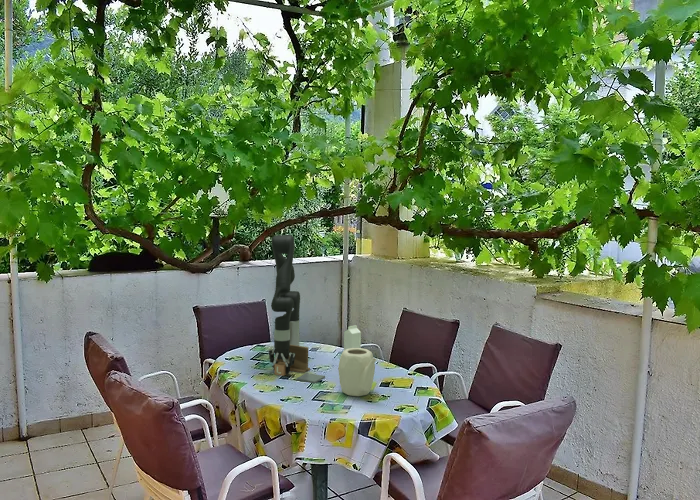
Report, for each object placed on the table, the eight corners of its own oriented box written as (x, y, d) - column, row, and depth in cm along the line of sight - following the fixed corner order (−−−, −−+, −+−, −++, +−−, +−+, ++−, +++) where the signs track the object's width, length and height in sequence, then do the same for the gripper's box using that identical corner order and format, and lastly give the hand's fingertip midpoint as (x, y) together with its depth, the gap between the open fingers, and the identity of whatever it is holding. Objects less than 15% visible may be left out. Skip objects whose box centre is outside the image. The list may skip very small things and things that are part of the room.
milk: (360, 369, 296) (361, 325, 294) (351, 371, 292) (352, 327, 290) (351, 366, 300) (353, 323, 298) (342, 368, 296) (344, 325, 294)
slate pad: (306, 374, 285) (306, 372, 285) (325, 377, 281) (325, 375, 281) (296, 380, 276) (296, 378, 276) (314, 383, 272) (314, 381, 272)
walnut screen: (279, 364, 300) (279, 341, 299) (310, 370, 293) (310, 346, 291) (272, 367, 295) (272, 344, 294) (304, 373, 287) (304, 348, 286)
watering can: (358, 406, 244) (359, 361, 243) (327, 387, 267) (328, 346, 265) (389, 400, 252) (391, 356, 251) (356, 382, 275) (357, 342, 273)
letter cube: (280, 371, 289) (280, 361, 288) (288, 373, 287) (289, 363, 286) (274, 374, 284) (274, 364, 284) (283, 376, 282) (283, 366, 282)
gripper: (299, 338, 284) (298, 372, 286) (273, 335, 290) (273, 368, 292) (290, 342, 278) (290, 377, 279) (265, 338, 284) (264, 372, 285)
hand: (281, 372), depth 286 cm, fingers open, 5 cm apart
